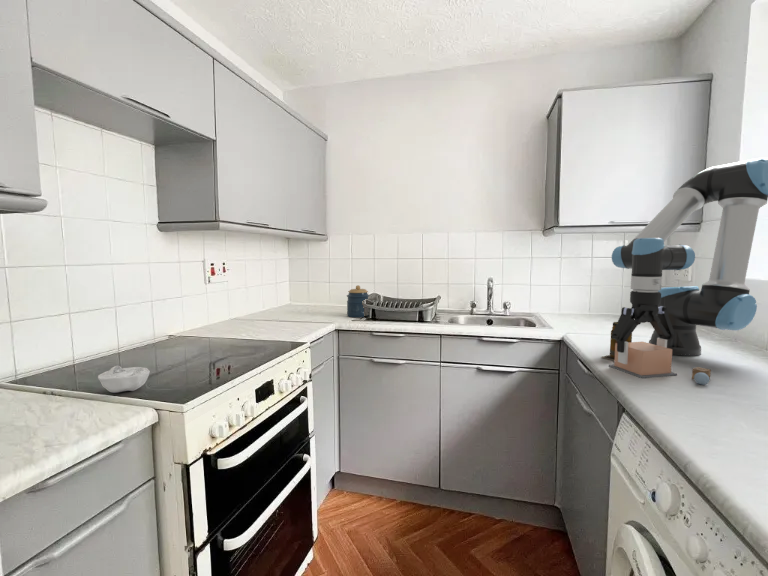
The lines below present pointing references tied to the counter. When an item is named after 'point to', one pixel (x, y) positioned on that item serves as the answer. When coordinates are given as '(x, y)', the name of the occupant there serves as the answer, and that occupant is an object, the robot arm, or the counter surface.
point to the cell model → (123, 378)
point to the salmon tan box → (646, 358)
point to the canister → (356, 302)
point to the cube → (698, 369)
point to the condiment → (612, 344)
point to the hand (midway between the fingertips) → (641, 361)
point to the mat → (643, 375)
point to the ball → (701, 378)
